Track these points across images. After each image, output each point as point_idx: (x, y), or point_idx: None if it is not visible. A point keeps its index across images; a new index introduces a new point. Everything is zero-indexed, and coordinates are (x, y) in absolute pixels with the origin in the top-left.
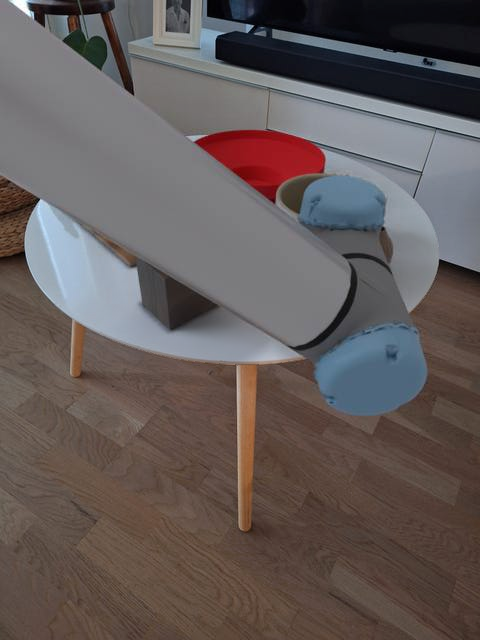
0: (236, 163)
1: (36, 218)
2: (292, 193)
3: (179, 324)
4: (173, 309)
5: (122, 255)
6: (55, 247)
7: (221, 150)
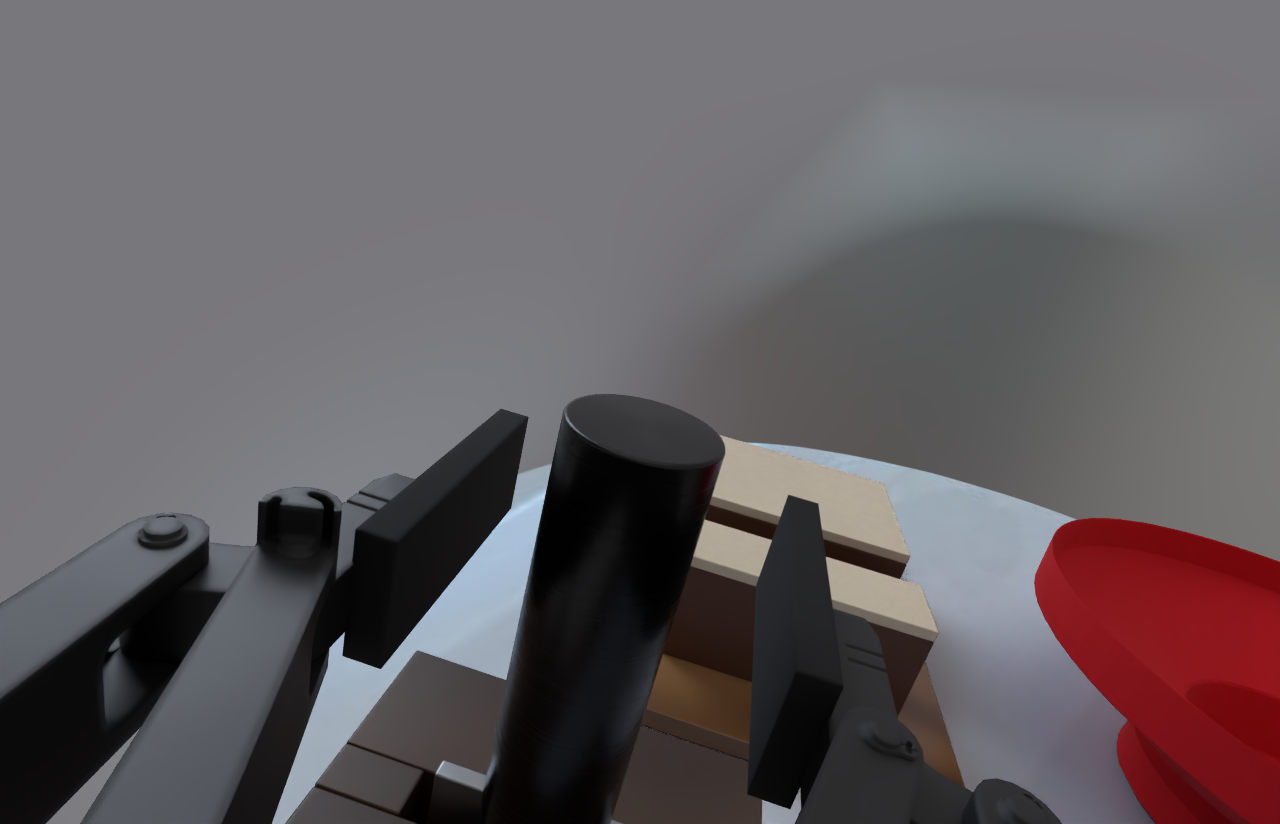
0: (1273, 680)
1: None
2: None
3: None
4: None
5: None
6: (530, 515)
7: (1227, 606)
